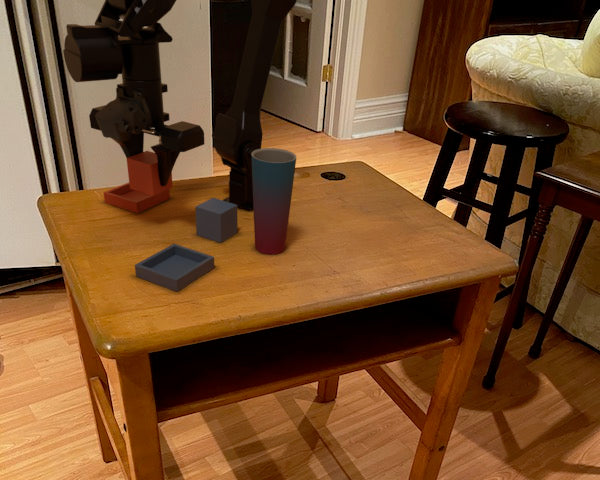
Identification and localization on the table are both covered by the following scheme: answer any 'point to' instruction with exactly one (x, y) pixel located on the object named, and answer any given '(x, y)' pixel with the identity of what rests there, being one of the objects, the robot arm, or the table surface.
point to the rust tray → (133, 198)
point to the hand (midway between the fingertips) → (150, 181)
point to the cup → (272, 197)
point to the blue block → (216, 220)
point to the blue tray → (174, 267)
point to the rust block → (146, 174)
